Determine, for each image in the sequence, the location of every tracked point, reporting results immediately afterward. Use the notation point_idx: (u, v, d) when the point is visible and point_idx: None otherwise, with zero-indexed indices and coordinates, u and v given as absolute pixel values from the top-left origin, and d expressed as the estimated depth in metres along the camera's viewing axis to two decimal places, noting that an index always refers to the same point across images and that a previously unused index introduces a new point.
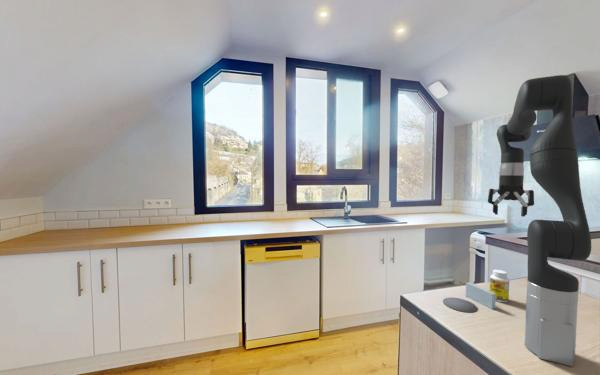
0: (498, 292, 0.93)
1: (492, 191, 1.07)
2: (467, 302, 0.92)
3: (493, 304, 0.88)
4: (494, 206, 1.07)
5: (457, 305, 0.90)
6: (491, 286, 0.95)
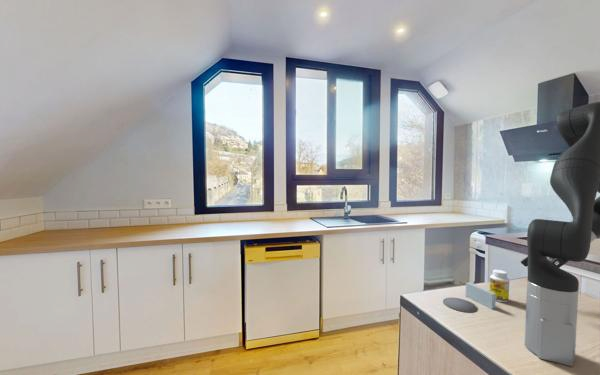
0: (498, 292, 0.93)
1: None
2: (467, 302, 0.92)
3: (493, 304, 0.88)
4: (528, 256, 0.96)
5: (457, 305, 0.90)
6: (491, 286, 0.95)
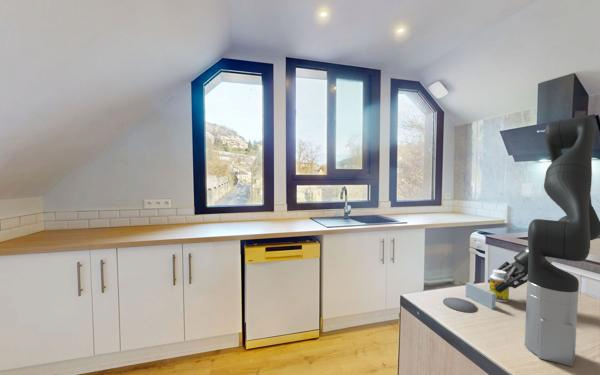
0: (498, 292, 0.93)
1: (505, 263, 0.99)
2: (467, 302, 0.92)
3: (493, 304, 0.88)
4: None
5: (457, 305, 0.90)
6: (491, 286, 0.95)
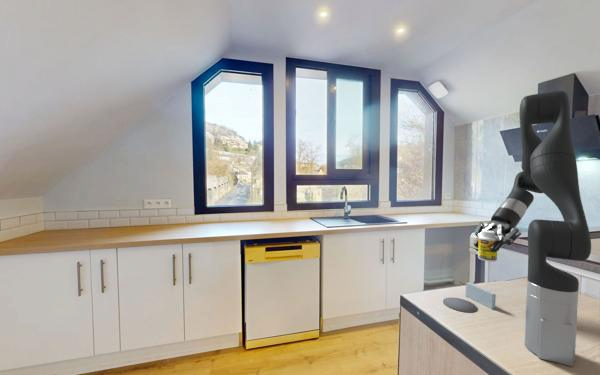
0: (492, 252, 0.91)
1: (480, 224, 1.00)
2: (467, 302, 0.92)
3: (493, 304, 0.88)
4: (477, 238, 0.97)
5: (457, 305, 0.90)
6: (483, 248, 0.92)
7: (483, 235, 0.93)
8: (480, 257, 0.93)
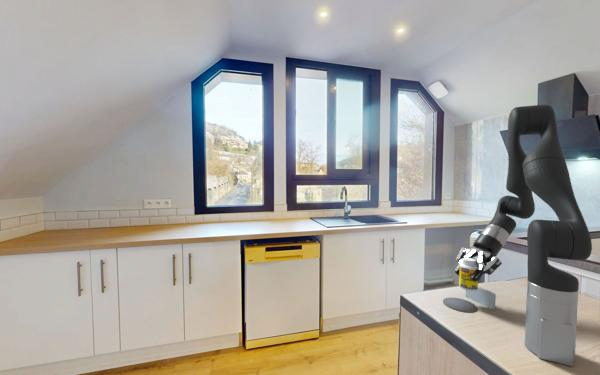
0: (472, 282, 0.89)
1: (462, 249, 0.98)
2: (467, 302, 0.92)
3: (493, 304, 0.88)
4: (459, 264, 0.95)
5: (457, 305, 0.90)
6: (464, 276, 0.90)
7: (464, 263, 0.91)
8: (461, 285, 0.91)
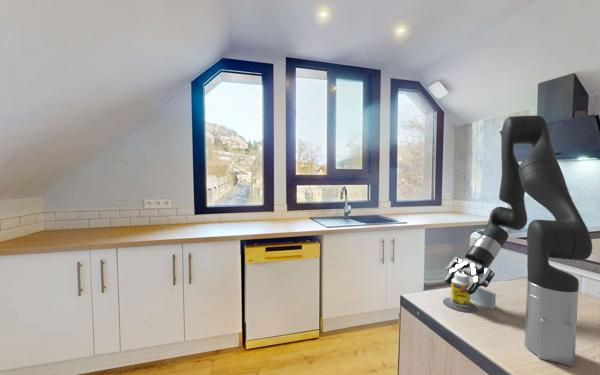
0: (464, 298, 0.88)
1: (455, 259, 0.97)
2: None
3: (493, 304, 0.88)
4: (449, 273, 0.95)
5: None
6: (456, 292, 0.89)
7: (456, 279, 0.90)
8: (453, 301, 0.90)
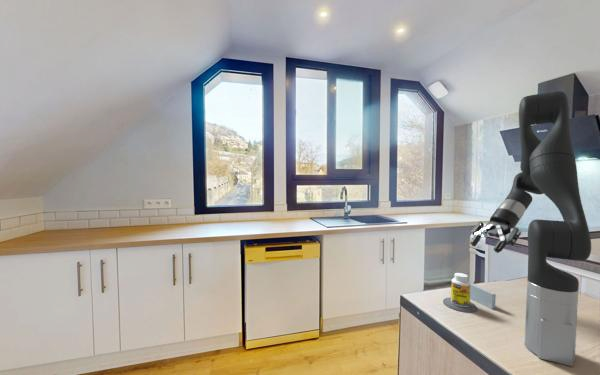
0: (464, 298, 0.88)
1: (480, 223, 1.00)
2: None
3: (493, 304, 0.88)
4: (474, 236, 0.98)
5: None
6: (456, 292, 0.89)
7: (456, 279, 0.90)
8: (453, 301, 0.90)
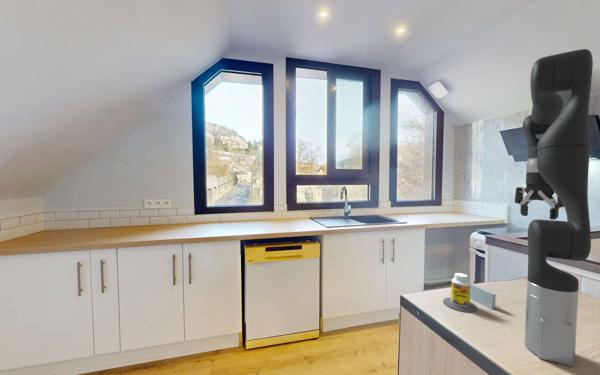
0: (464, 298, 0.88)
1: (518, 190, 0.98)
2: None
3: (493, 304, 0.88)
4: (521, 206, 0.97)
5: None
6: (456, 292, 0.89)
7: (456, 279, 0.90)
8: (453, 301, 0.90)
